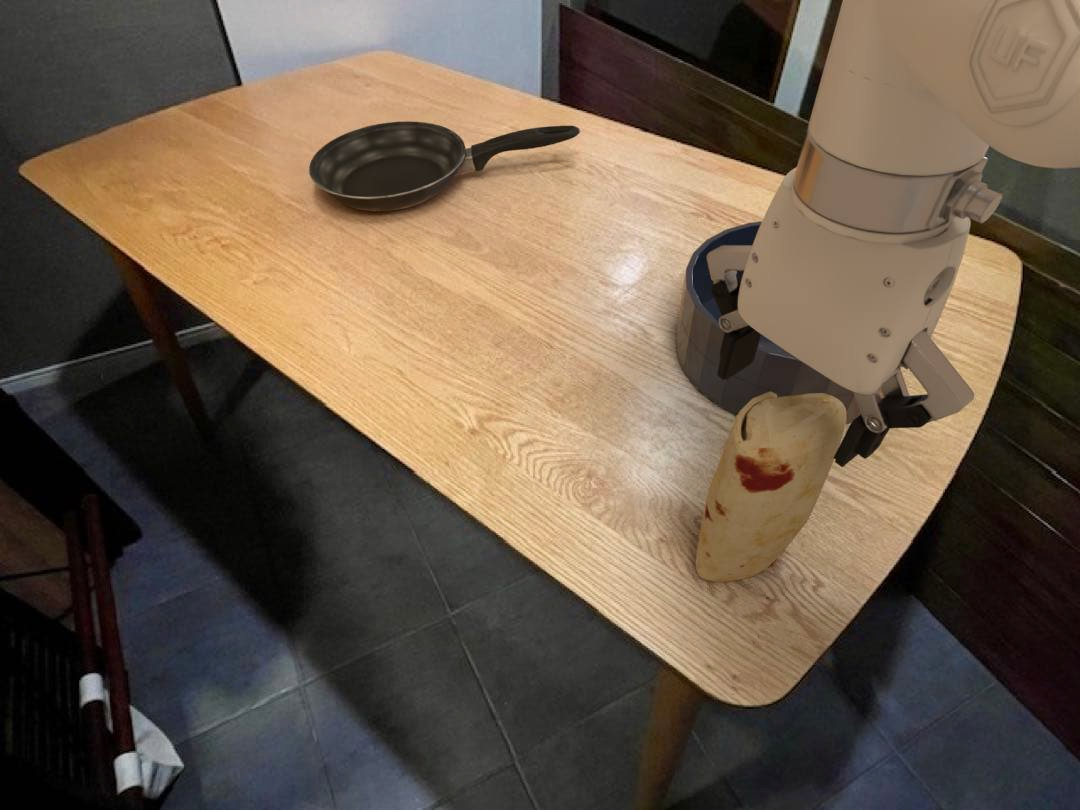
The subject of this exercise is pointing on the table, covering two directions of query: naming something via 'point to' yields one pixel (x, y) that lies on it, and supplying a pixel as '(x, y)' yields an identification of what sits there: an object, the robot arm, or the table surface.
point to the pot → (705, 338)
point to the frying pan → (410, 161)
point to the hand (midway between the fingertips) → (789, 408)
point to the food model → (767, 482)
